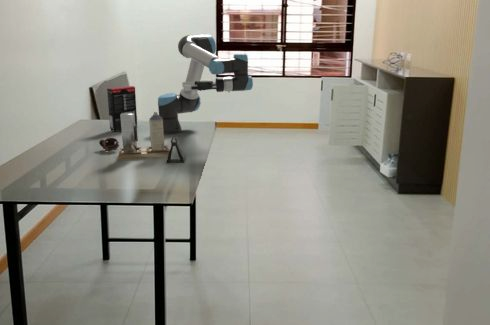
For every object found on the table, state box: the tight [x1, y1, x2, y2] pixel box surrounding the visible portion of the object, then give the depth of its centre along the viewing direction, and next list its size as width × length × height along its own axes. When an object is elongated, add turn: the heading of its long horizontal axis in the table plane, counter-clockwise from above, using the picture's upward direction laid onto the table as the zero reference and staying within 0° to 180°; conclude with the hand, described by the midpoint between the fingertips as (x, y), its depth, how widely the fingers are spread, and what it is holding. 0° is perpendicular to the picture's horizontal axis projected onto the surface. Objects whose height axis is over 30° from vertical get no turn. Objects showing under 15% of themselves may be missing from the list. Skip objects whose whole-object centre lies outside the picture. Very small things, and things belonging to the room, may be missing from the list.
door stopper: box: [165, 136, 186, 164], centre depth 259 cm, size 9×6×12 cm, turn 93°
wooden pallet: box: [117, 144, 170, 161], centre depth 272 cm, size 11×26×4 cm, turn 101°
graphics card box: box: [106, 85, 138, 132], centre depth 334 cm, size 17×7×27 cm, turn 133°
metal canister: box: [120, 113, 139, 153], centre depth 268 cm, size 7×8×20 cm
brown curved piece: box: [98, 137, 120, 152], centre depth 284 cm, size 12×10×8 cm
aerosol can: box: [148, 111, 165, 151], centre depth 270 cm, size 7×7×20 cm
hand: (183, 86), depth 275 cm, fingers open, 13 cm apart
